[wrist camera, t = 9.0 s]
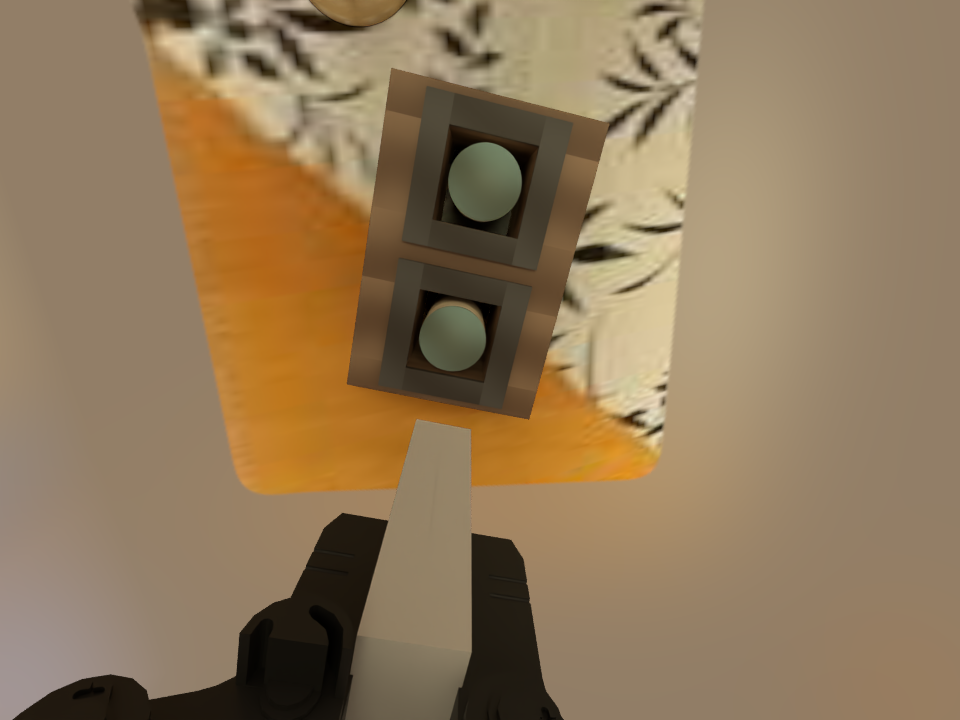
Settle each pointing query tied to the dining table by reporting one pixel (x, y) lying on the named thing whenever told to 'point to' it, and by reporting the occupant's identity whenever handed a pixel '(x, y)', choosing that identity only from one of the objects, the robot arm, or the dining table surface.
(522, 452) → the dining table surface
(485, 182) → the peg
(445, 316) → the peg
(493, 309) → the socket block
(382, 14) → the hand bell
